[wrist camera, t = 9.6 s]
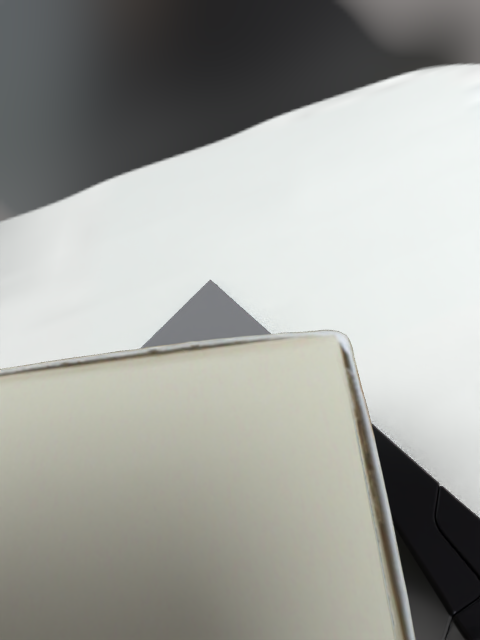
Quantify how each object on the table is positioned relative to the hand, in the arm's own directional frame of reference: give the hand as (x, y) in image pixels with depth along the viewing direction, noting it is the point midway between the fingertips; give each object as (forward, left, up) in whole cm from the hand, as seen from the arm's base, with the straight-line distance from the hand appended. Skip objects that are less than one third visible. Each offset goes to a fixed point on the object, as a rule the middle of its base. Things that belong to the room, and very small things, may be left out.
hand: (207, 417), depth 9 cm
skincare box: (-1, +1, -7) cm, 7 cm away
